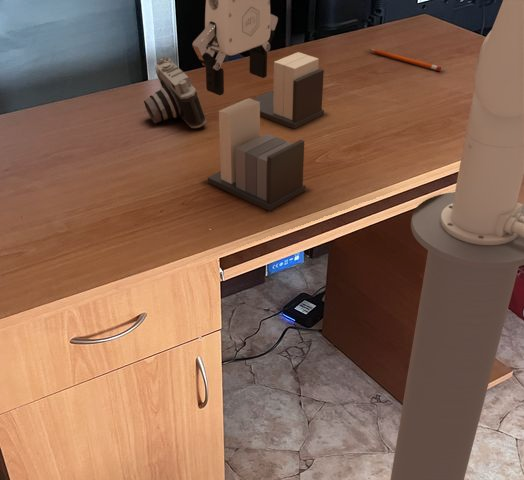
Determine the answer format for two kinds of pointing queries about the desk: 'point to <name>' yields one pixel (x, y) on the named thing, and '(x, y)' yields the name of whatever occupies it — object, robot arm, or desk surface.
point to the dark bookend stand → (294, 91)
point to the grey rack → (266, 171)
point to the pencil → (406, 59)
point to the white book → (236, 133)
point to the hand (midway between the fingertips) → (237, 83)
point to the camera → (174, 96)
